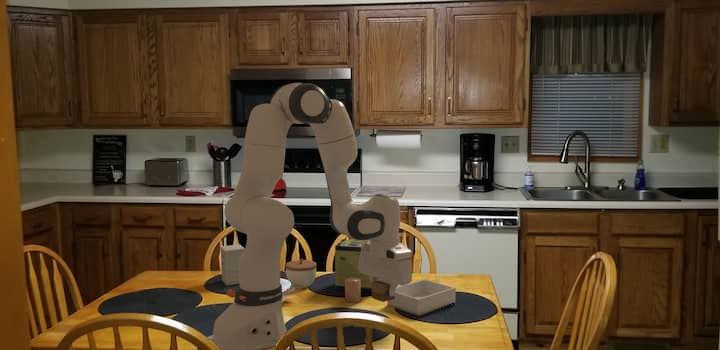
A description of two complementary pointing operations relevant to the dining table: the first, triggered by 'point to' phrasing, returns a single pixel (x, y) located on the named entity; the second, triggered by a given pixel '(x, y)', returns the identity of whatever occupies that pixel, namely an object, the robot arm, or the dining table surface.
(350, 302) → the terracotta cylinder
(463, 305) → the dining table surface
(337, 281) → the protein box
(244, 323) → the robot arm
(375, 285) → the walnut cube
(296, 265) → the lidded jar
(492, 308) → the dining table surface
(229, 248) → the supplement box
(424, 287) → the tote
